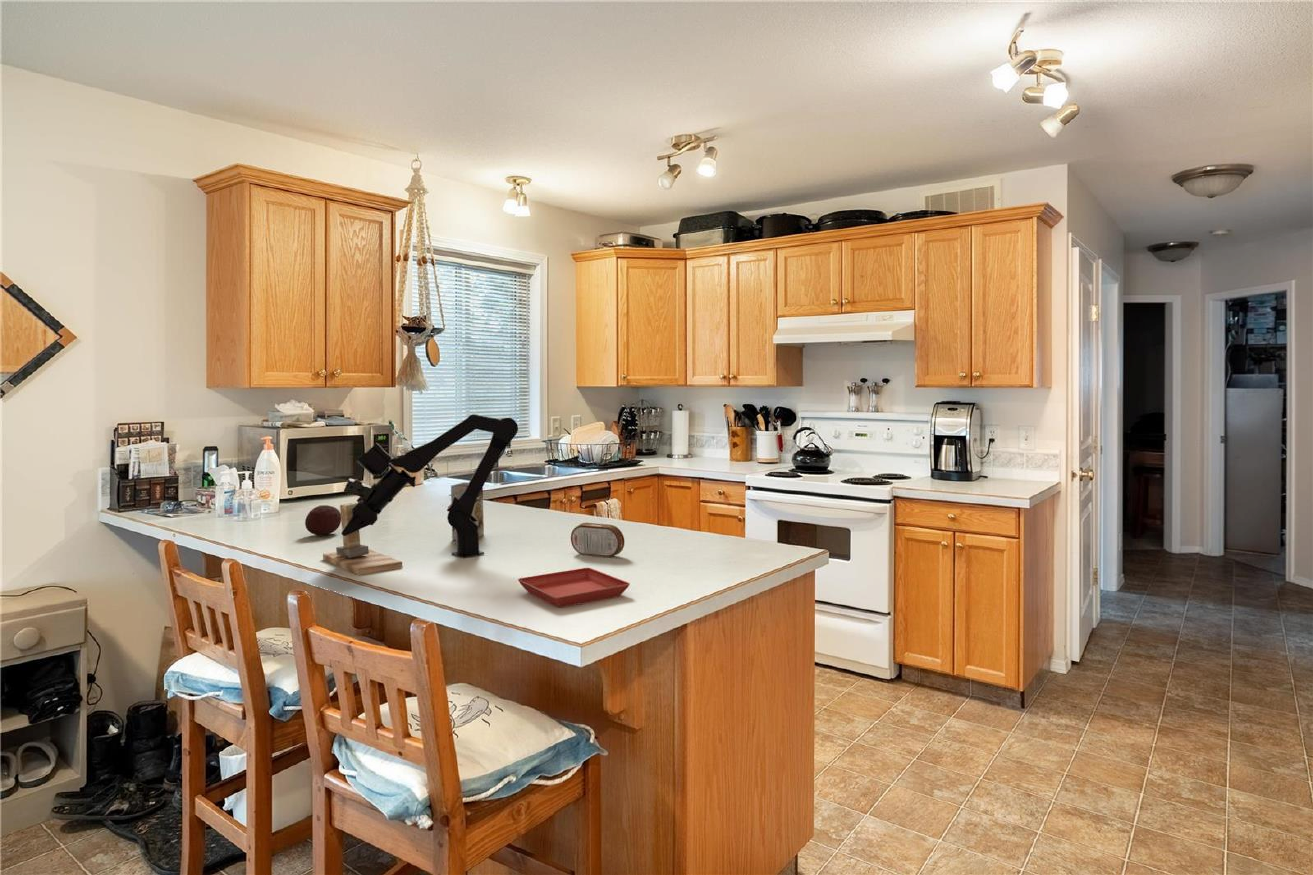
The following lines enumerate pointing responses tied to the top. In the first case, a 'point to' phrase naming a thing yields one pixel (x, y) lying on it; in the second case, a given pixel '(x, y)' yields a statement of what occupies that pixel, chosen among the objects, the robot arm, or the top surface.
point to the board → (364, 562)
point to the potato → (323, 520)
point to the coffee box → (477, 509)
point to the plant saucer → (574, 586)
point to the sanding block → (350, 536)
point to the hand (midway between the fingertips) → (343, 533)
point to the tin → (597, 539)
